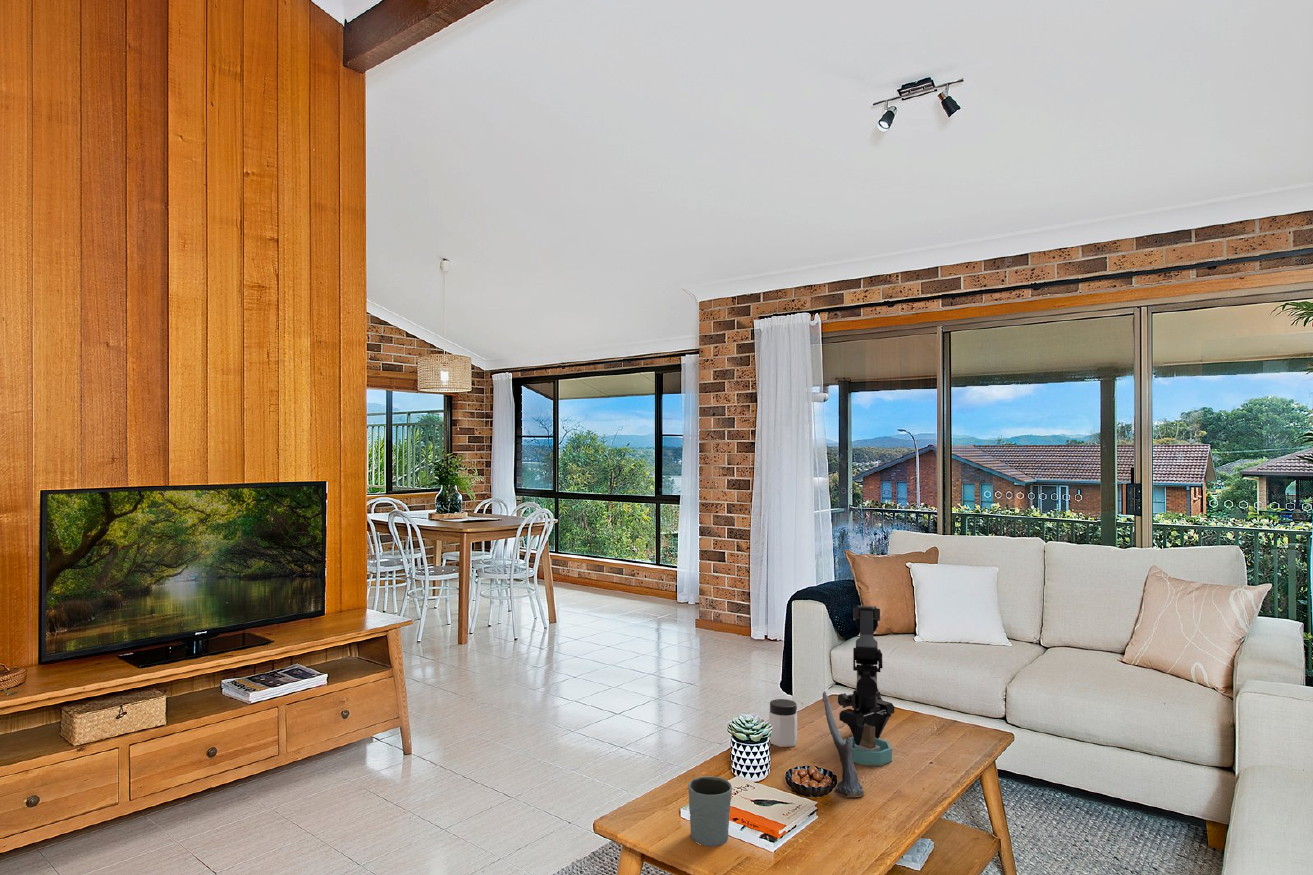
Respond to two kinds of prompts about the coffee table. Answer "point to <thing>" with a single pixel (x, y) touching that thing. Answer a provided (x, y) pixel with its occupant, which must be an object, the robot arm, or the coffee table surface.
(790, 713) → the jar
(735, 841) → the coffee table surface
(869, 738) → the brown wooden block
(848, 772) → the antler
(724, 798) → the grey cup
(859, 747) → the dish
